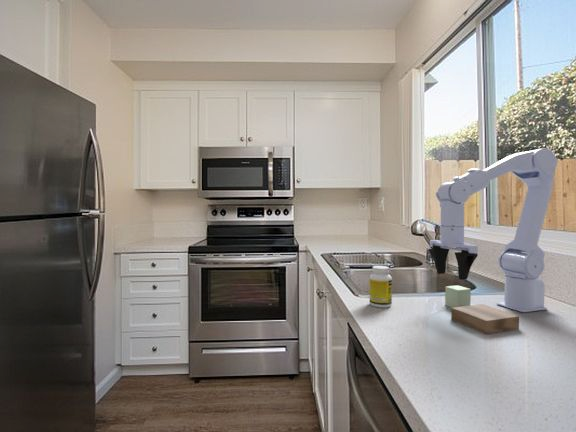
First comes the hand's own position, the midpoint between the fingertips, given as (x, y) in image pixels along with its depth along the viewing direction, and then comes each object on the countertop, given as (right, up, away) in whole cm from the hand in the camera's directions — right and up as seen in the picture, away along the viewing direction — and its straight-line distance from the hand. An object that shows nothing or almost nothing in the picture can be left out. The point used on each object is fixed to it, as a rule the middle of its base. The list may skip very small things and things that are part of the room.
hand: (451, 276), depth 90 cm
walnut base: (+3, -10, -10) cm, 14 cm away
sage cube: (+4, -10, +4) cm, 11 cm away
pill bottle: (-18, -10, +6) cm, 21 cm away
